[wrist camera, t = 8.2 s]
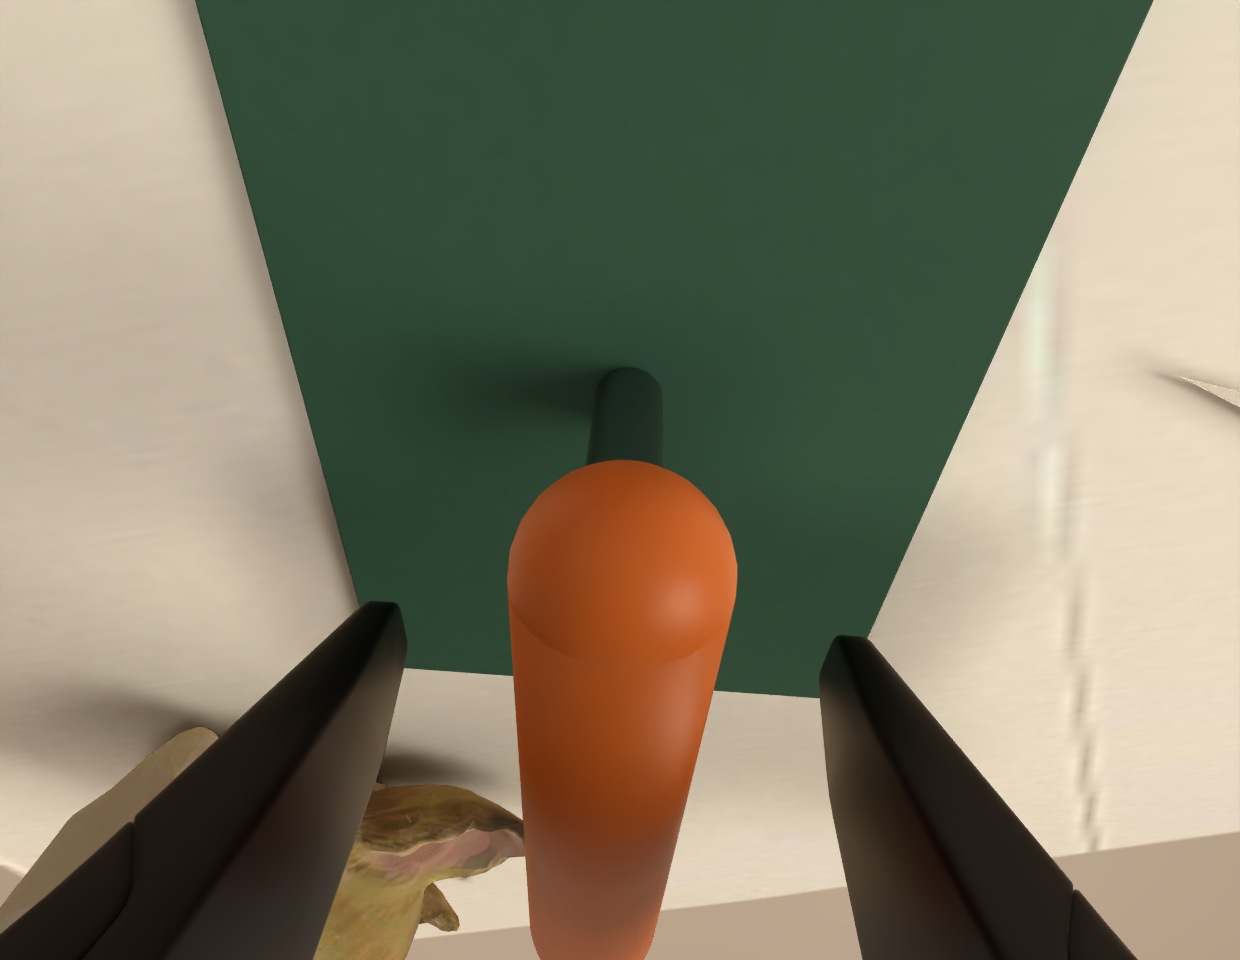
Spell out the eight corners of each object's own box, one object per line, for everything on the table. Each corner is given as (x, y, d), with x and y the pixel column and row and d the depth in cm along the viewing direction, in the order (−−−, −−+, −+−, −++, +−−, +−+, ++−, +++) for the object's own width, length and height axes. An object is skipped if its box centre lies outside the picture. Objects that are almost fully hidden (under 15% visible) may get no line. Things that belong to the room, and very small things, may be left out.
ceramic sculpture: (-114, 995, 14) (553, 1065, 19) (123, 639, 20) (569, 760, 25) (-74, 1080, 20) (422, 1116, 25) (98, 783, 26) (463, 859, 31)
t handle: (580, 545, 17) (522, 1004, 10) (592, 167, 11) (475, 567, 4) (653, 550, 17) (649, 1013, 10) (699, 175, 11) (773, 588, 4)
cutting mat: (379, 655, 21) (374, 666, 20) (111, -367, 8) (90, -379, 8) (837, 689, 21) (840, 700, 20) (1261, -281, 8) (1285, -288, 8)
